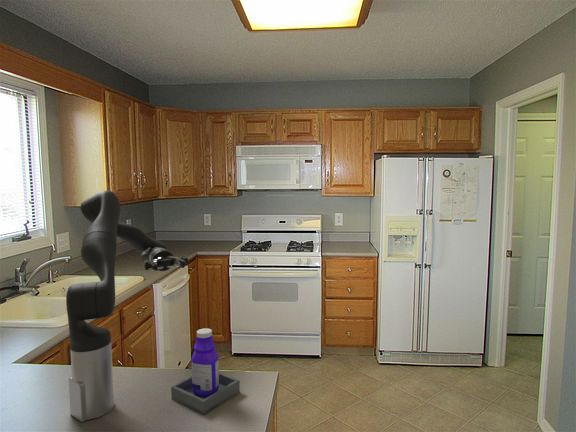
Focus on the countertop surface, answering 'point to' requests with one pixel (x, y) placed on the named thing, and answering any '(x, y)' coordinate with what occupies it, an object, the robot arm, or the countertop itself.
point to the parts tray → (200, 403)
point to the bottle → (205, 365)
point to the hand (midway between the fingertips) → (170, 266)
